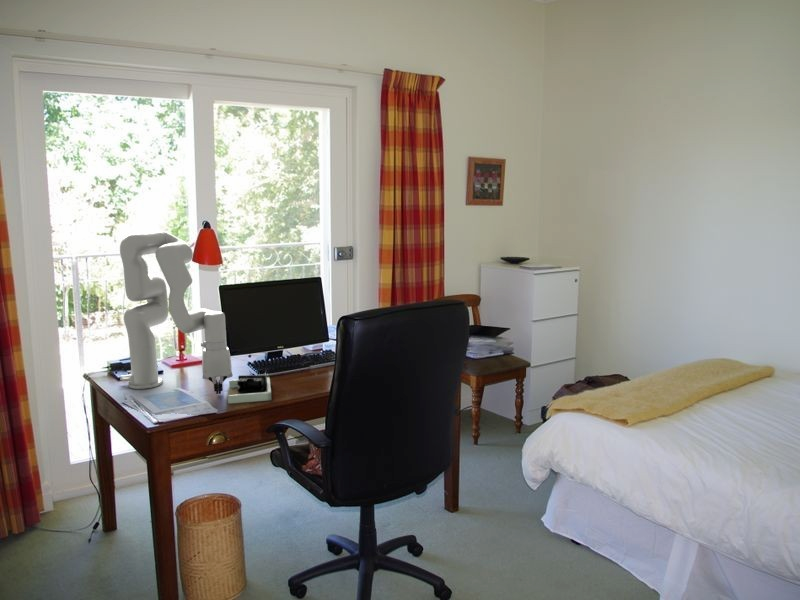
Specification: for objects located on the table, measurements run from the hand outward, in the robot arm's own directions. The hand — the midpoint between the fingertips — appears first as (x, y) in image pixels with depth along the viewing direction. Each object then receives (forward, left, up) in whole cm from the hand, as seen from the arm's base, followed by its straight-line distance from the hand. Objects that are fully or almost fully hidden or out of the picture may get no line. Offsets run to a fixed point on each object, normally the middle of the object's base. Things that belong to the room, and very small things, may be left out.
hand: (218, 392), depth 242 cm
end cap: (+12, 0, -1) cm, 12 cm away
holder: (+11, 0, -1) cm, 11 cm away
